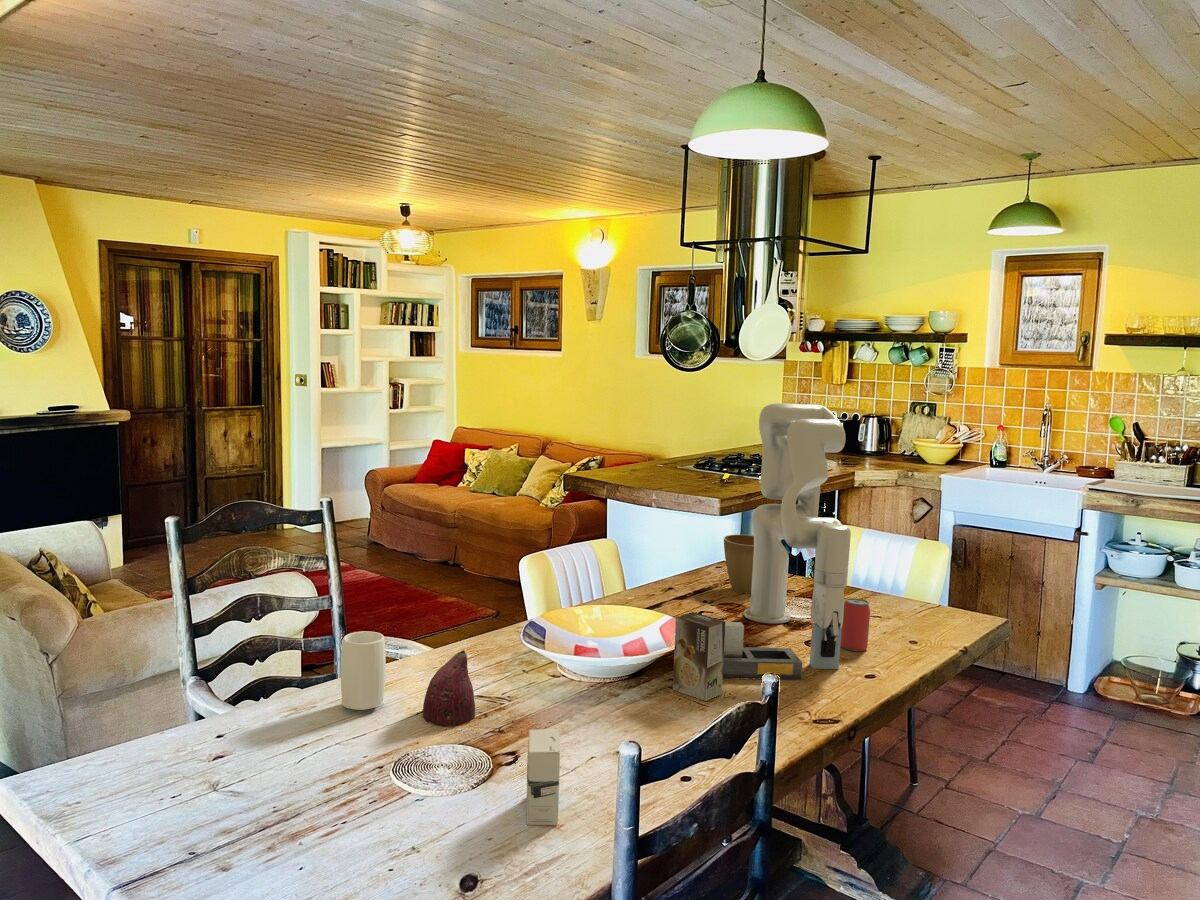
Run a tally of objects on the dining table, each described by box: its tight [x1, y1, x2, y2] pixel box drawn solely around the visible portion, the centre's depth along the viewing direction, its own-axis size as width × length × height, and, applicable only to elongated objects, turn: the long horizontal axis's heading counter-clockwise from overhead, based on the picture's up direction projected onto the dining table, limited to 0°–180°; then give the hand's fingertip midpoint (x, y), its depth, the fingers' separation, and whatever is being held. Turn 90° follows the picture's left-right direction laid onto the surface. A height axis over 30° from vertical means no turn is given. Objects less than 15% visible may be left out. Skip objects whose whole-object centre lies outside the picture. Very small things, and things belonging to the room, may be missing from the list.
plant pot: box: [723, 534, 754, 594], centre depth 274 cm, size 15×15×16 cm
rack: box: [722, 621, 803, 681], centre depth 205 cm, size 10×22×11 cm, turn 94°
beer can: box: [840, 597, 871, 652], centre depth 225 cm, size 7×7×12 cm
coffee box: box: [672, 611, 726, 702], centre depth 191 cm, size 9×6×16 cm
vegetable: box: [422, 649, 476, 728], centre depth 174 cm, size 10×10×15 cm
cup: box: [340, 630, 387, 711], centre depth 176 cm, size 8×8×14 cm
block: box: [809, 622, 842, 670], centre depth 210 cm, size 3×6×10 cm, turn 94°
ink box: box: [526, 728, 561, 826], centre depth 139 cm, size 8×5×12 cm, turn 5°
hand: (825, 653), depth 211 cm, fingers closed on block, 3 cm apart
